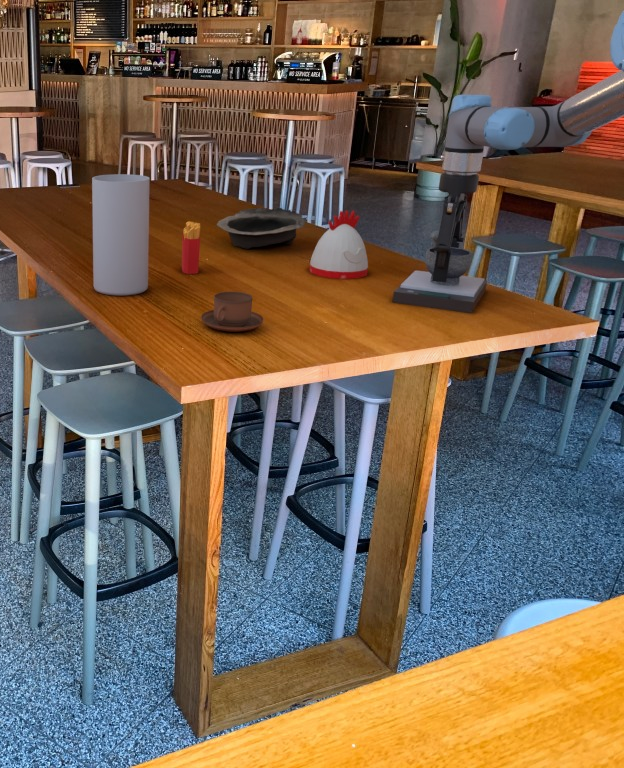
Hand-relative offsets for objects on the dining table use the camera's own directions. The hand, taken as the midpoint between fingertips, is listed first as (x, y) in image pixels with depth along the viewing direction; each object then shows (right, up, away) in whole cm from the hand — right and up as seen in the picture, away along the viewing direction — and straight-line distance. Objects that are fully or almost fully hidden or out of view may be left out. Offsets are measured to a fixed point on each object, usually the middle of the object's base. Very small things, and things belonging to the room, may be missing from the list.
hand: (443, 276), depth 175 cm
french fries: (-54, +4, +23) cm, 59 cm away
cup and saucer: (-50, -13, -19) cm, 55 cm away
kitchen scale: (-1, -4, +1) cm, 5 cm away
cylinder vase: (-71, -2, +7) cm, 72 cm away
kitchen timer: (-17, +4, +22) cm, 28 cm away
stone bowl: (-31, +15, +51) cm, 61 cm away
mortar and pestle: (0, -2, 0) cm, 2 cm away
